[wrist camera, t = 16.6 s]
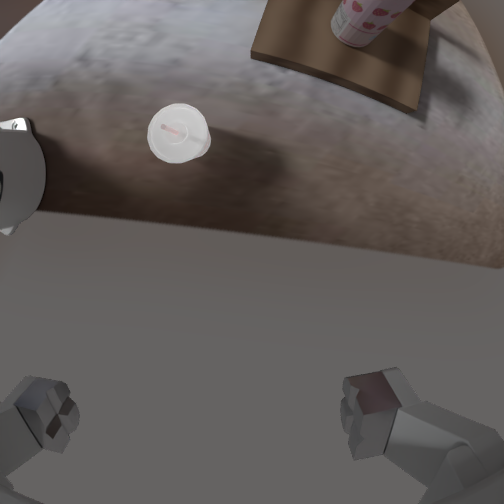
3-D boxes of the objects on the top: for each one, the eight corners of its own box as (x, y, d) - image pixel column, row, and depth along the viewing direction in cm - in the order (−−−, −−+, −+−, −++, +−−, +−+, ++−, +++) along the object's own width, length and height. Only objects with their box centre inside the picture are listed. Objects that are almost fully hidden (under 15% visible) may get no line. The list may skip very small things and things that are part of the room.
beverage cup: (183, 173, 38) (149, 176, 25) (160, 133, 37) (117, 118, 23) (225, 148, 38) (213, 138, 24) (202, 108, 36) (178, 78, 23)
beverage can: (368, 54, 31) (424, 7, 17) (325, 38, 31) (364, -23, 16) (375, 22, 30) (428, -31, 15) (335, 5, 30) (372, -58, 15)
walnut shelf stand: (250, 58, 34) (251, 22, 24) (282, -32, 30) (290, -77, 20) (406, 113, 36) (450, 101, 25) (421, 21, 32) (459, -6, 21)
